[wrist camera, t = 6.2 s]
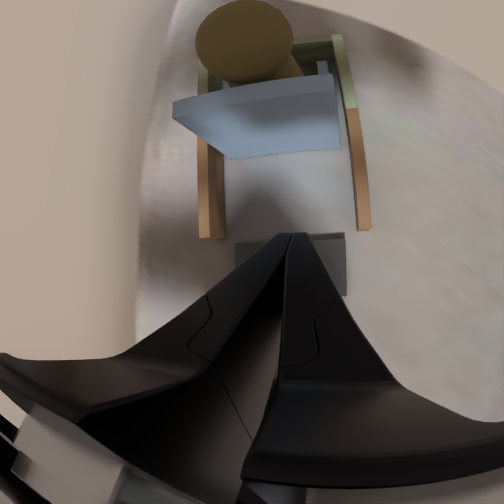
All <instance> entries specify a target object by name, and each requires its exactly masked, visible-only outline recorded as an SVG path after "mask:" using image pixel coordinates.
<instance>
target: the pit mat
mask: <svg viewBox="0 0 504 504" xmlns="http://www.w3.org/2000/svg"><path fill="white" fill-rule="evenodd" d="M312 242H313V244H314V246H315V248H316V249H317V251H318V253H319V255H320V257H321V259H322V261H323V262H324V264H325V266H326V268H327V270H328V272H329V274H330V276H331V277H332V279H333V281H334V283H335V285H336V287H337V289H338V291H339V293H340V295H341V296H347V293H346V254H345V239H326V240H312ZM266 243H267V242H266ZM266 243H246V244H235V245H236V267H238V266H239V265H240V264H242V263H243V262H244V261H245V260H246V259H248V258H249V257H250V256H251V255H252V254H254V253H255V252H256V251H257V250H258V249H260V248H261V247H262V246H263V245H264V244H266Z"/></svg>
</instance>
